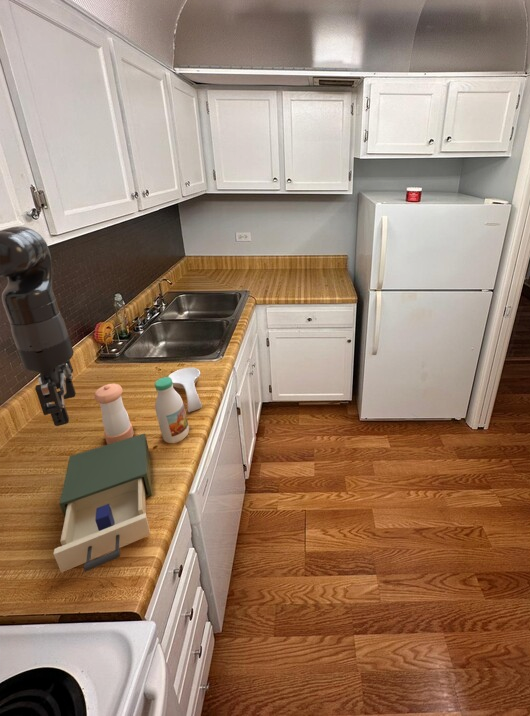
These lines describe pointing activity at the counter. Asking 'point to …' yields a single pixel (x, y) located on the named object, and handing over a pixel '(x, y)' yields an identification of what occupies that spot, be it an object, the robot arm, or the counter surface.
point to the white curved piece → (188, 385)
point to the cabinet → (106, 469)
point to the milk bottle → (170, 411)
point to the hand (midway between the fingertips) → (66, 409)
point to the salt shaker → (113, 413)
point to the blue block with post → (104, 517)
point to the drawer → (91, 543)
